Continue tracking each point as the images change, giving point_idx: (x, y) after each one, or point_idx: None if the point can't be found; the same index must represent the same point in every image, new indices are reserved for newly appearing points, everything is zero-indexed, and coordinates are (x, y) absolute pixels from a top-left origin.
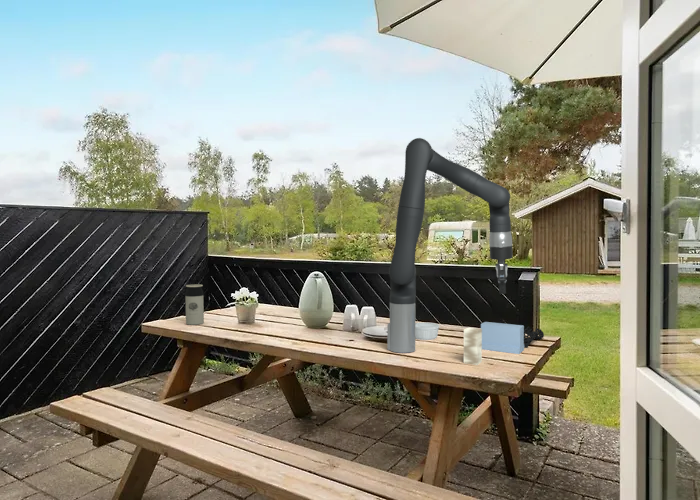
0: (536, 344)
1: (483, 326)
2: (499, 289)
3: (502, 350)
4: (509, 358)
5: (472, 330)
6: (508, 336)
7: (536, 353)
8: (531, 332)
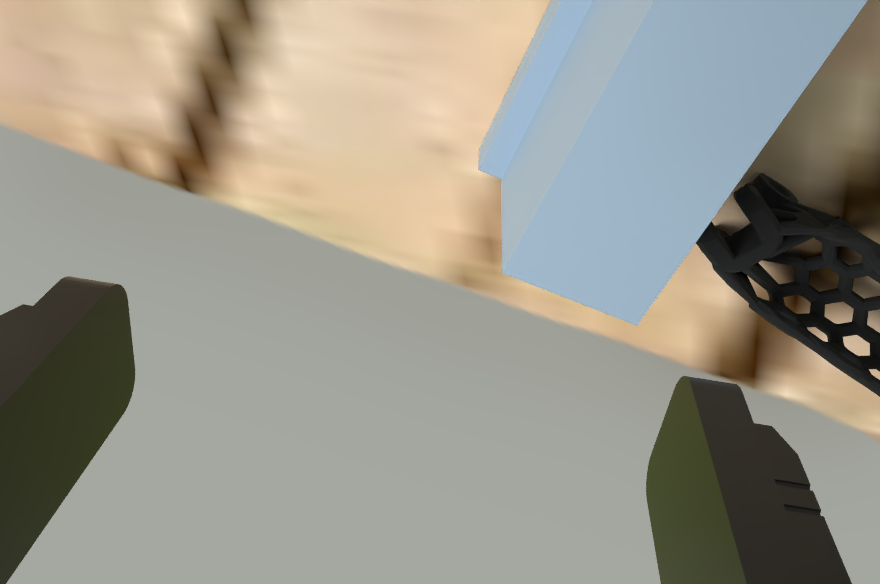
0: None
1: None
2: (17, 332)
3: (543, 23)
4: (314, 47)
5: None
6: (551, 125)
7: None
8: None
